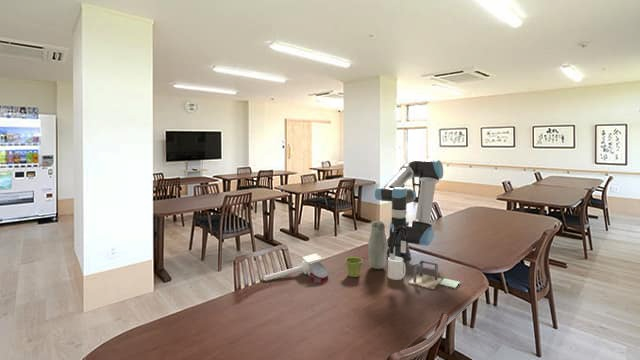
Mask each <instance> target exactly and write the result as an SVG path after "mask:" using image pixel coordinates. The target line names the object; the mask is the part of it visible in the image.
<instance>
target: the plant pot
mask: <svg viewBox="0 0 640 360" xmlns="http://www.w3.org/2000/svg"><path fill="white" fill-rule="evenodd" d="M345 263H346V265H347V266H346V267H347V273H348V277H350V278H351V277H352V278H357V277H359V276H360V275H361V266H362V263H363V259H362V258H361V257H356V256H355V257H353V256H351V257H347V258H345Z"/></svg>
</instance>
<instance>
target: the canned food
mask: <svg viewBox="0 0 640 360" xmlns="http://www.w3.org/2000/svg"><path fill="white" fill-rule="evenodd" d="M312 263H313V264H311V265H310V268H311V273H310V276H309V281H310V282H311V283H313V282H314V284H325V283H326V282H327V281H329V271H328V269H327V268H326V266H325V265H323V264H322V263H321V262H319V261H315V262H312Z"/></svg>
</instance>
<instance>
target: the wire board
mask: <svg viewBox="0 0 640 360" xmlns="http://www.w3.org/2000/svg"><path fill="white" fill-rule="evenodd" d="M413 278H414V276H413V277H412V278H411V279H410V280H409V281H407V282H408V283H407V284H409V285H412V284H413V285H412V286H416V285H417V287H420V286H422V287H421V288H423V287H426V288H425V289H427V288H430V289H429V290H431V289H434V288H435V287H436V286H437V285H438V284H439V283H440V282H441V281H442V280H443V278H440V277H438V280H435V276H432V275H428V274H424V273H423V276H420V272H418V273H416V282H414V281H413ZM438 286H439V285H438ZM438 286H437V287H438ZM437 287H436V288H437ZM436 288H435V289H436ZM435 289H434V290H435Z"/></svg>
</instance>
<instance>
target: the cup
mask: <svg viewBox="0 0 640 360" xmlns="http://www.w3.org/2000/svg"><path fill="white" fill-rule="evenodd" d="M406 269H407V268H406V263H405V262H404V259H403V258H401V257H396V256H395V260H393V259H390V257H389V258H387V277H388V278H389V279H390V280H395V281H396V280H397V281H399V280H400V281H401V280H403V279H404V277H405V276H406V272H407V270H406ZM402 278H403V279H402Z"/></svg>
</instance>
